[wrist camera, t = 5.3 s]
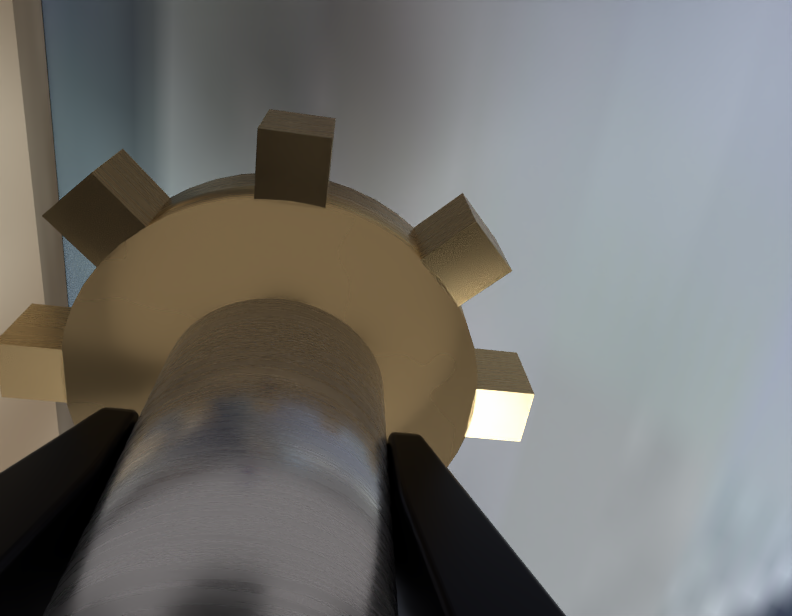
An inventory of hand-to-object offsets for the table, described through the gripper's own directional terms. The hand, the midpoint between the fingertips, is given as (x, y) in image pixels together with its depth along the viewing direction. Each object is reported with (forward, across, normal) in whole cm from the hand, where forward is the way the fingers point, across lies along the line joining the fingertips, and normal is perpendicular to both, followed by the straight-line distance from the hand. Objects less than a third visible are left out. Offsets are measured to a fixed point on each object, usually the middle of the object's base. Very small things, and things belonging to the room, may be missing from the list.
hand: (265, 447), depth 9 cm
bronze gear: (+2, 0, 0) cm, 2 cm away
